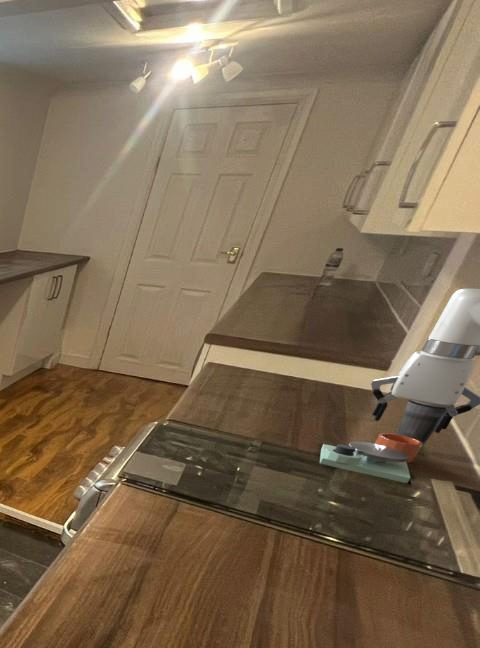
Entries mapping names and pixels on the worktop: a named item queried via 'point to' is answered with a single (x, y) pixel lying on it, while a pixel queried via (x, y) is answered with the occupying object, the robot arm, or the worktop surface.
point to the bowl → (400, 444)
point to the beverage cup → (420, 420)
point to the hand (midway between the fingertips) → (405, 425)
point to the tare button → (345, 449)
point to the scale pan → (378, 453)
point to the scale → (364, 465)
